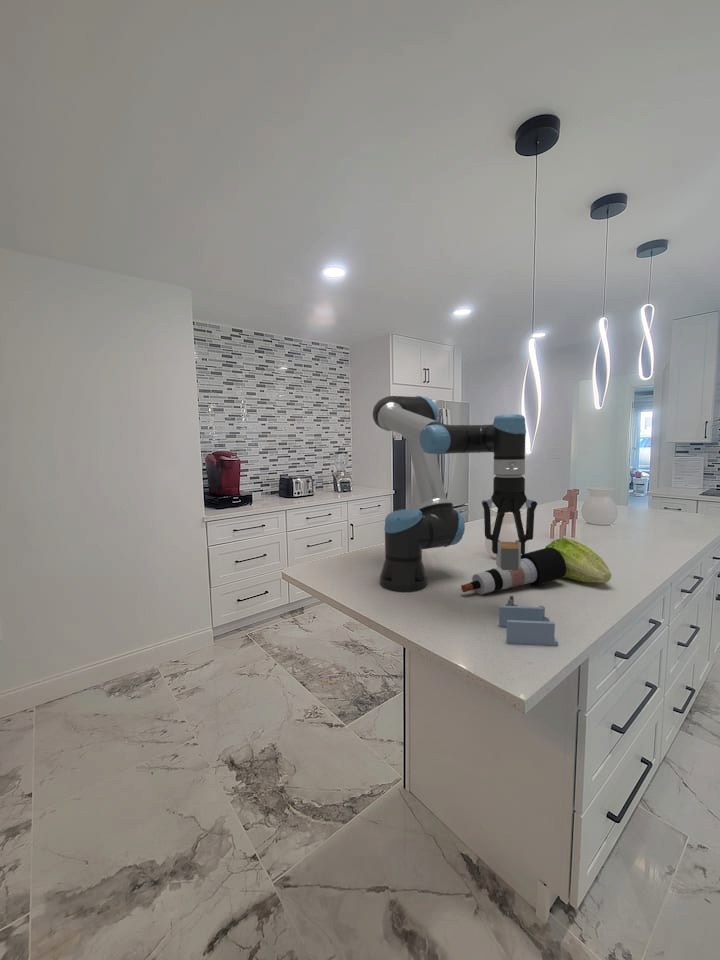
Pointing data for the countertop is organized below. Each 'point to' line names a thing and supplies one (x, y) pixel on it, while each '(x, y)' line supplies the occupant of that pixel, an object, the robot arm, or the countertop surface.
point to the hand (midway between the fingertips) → (508, 565)
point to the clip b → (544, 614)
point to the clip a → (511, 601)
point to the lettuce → (581, 561)
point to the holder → (526, 625)
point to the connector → (509, 555)
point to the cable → (521, 572)
